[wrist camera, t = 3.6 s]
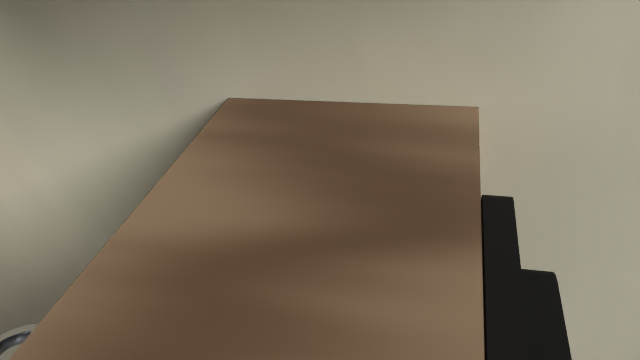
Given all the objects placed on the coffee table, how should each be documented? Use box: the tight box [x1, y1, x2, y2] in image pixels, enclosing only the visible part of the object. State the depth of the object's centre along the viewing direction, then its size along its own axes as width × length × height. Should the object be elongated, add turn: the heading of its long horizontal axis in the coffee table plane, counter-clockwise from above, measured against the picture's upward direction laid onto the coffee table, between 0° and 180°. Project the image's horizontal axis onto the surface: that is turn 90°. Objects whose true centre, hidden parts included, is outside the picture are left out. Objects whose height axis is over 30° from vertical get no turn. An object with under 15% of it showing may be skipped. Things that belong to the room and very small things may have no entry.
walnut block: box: [9, 98, 484, 360], centre depth 9 cm, size 5×5×8 cm
